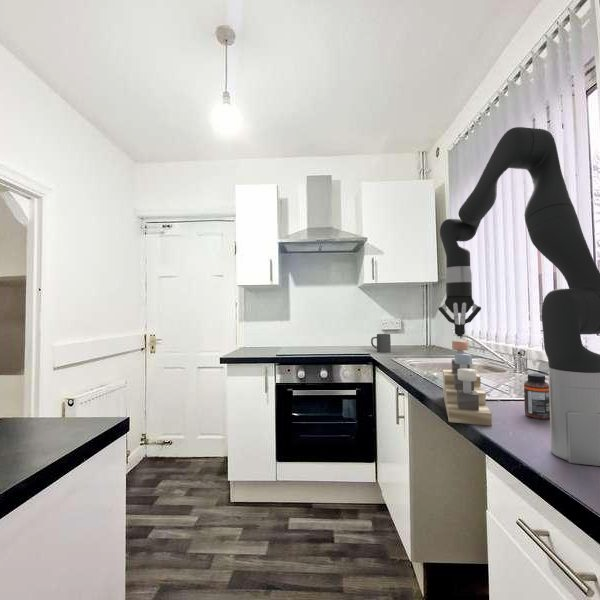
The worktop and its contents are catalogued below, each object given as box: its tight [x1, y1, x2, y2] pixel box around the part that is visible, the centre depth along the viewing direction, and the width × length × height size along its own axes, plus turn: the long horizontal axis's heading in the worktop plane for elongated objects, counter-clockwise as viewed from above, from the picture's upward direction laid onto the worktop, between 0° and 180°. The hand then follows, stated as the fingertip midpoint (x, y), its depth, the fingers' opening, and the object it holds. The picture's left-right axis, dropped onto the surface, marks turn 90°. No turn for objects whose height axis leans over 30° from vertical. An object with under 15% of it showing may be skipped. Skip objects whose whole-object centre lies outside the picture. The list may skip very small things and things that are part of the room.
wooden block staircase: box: [442, 358, 493, 426], centre depth 106 cm, size 28×10×13 cm, turn 161°
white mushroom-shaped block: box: [457, 368, 477, 393], centre depth 98 cm, size 5×5×7 cm
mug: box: [370, 333, 392, 354], centre depth 247 cm, size 14×9×12 cm
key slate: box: [454, 353, 473, 369], centre depth 106 cm, size 5×5×7 cm
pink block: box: [451, 340, 469, 354], centre depth 115 cm, size 5×5×7 cm
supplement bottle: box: [523, 372, 550, 420], centre depth 99 cm, size 6×6×11 cm
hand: (459, 336), depth 115 cm, fingers closed
